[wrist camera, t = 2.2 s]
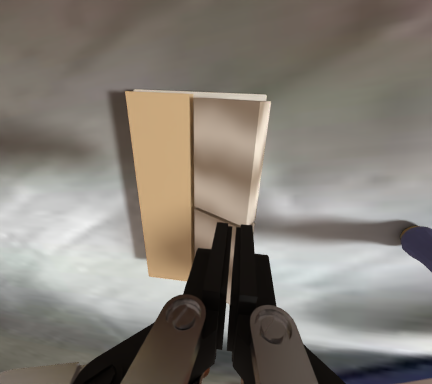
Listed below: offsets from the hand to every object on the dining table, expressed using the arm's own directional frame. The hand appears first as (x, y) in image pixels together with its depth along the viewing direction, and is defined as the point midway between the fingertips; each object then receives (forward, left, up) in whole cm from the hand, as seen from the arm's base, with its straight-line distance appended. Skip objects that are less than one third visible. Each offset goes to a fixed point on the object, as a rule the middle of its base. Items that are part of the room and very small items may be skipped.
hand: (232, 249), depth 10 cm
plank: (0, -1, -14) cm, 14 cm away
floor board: (+6, -5, -17) cm, 19 cm away
